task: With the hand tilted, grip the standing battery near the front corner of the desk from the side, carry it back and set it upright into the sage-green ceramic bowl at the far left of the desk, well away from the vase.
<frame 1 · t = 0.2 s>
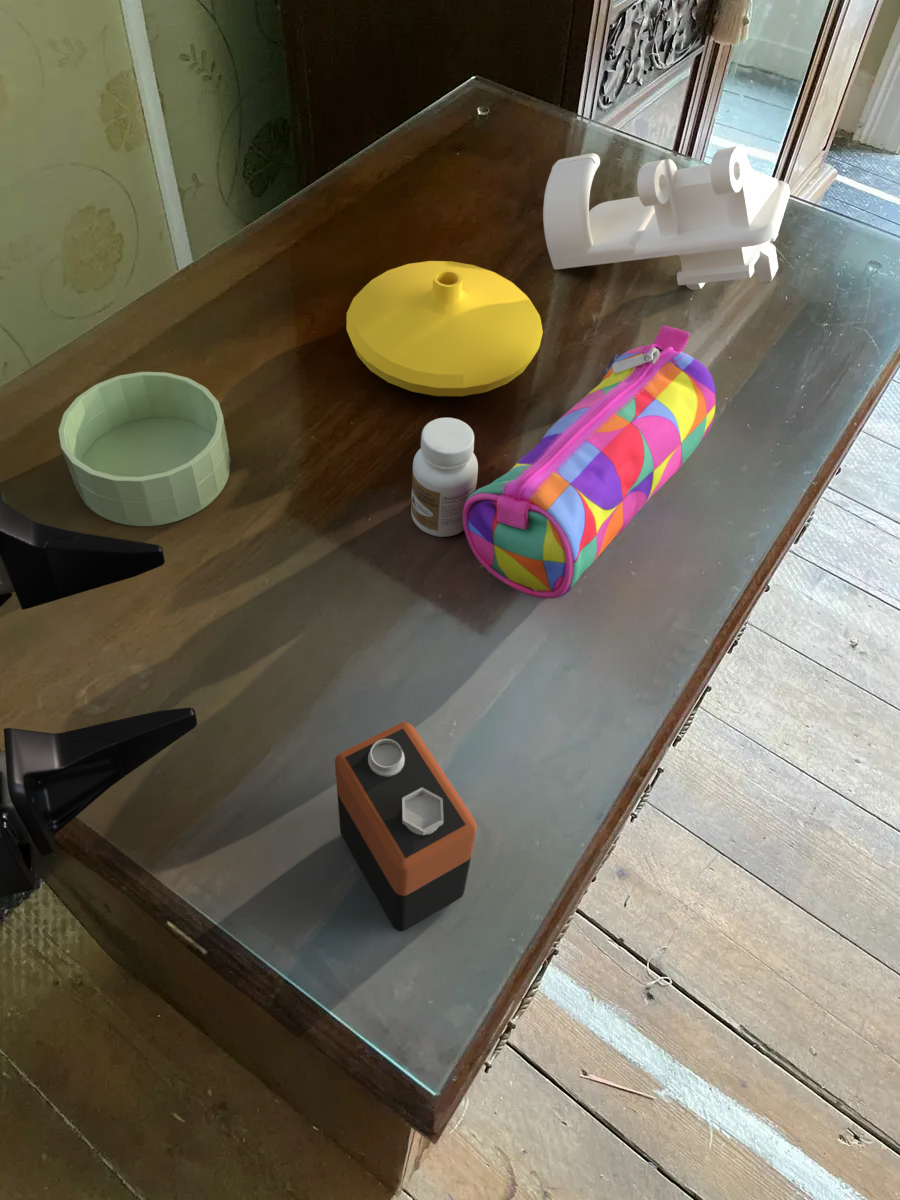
hand: (178, 630, 43), 15 cm above the table, tool horizontal, fingers open, 9 cm apart
vase: (442, 354, 79), on the table
bowl: (154, 470, 69), on the table
tape dispenser: (647, 273, 87), on the table
battery: (401, 864, 52), on the table
pill bottle: (441, 517, 68), on the table
pencil case: (585, 506, 69), on the table
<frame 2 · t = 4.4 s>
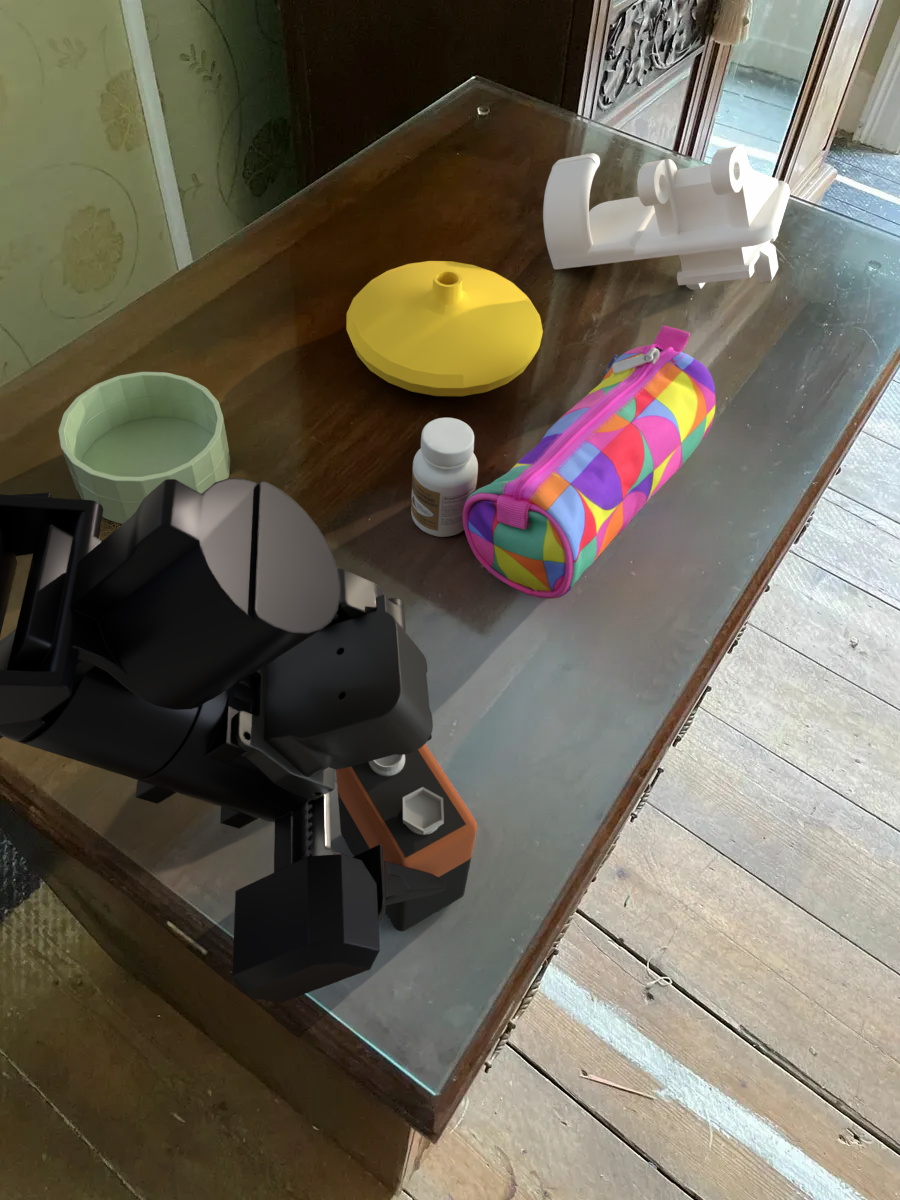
hand: (432, 810, 47), 7 cm above the table, tool tilted 45°, fingers closed on battery, 7 cm apart
battery: (401, 864, 52), on the table, touching gripper
everything else where it was.
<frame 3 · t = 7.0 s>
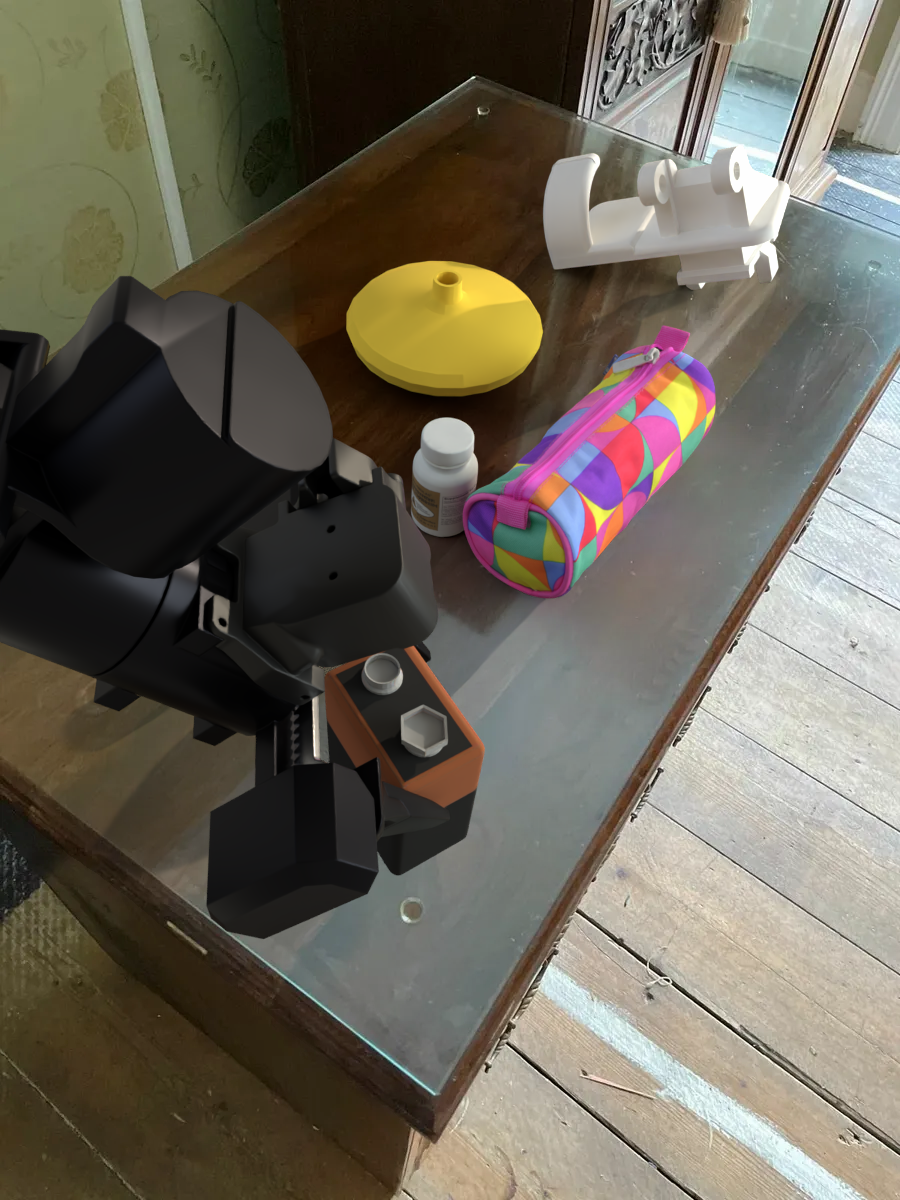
hand: (432, 736, 42), 13 cm above the table, tool tilted 45°, fingers closed on battery, 7 cm apart
battery: (397, 805, 47), point 6 cm above the table, touching gripper
everything else where it was.
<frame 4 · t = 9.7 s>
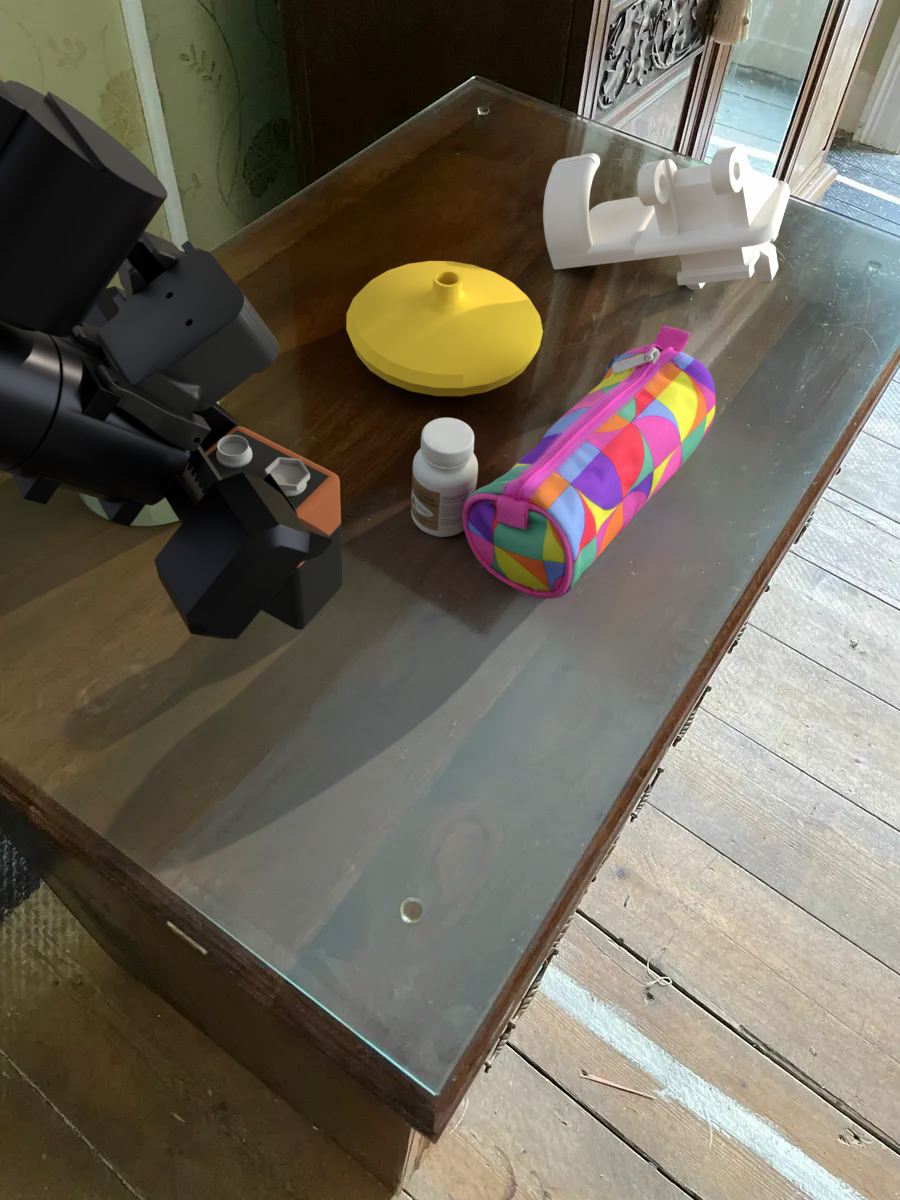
hand: (290, 496, 50), 13 cm above the table, tool tilted 45°, fingers closed on battery, 7 cm apart
battery: (276, 586, 55), point 6 cm above the table, touching gripper
everything else where it was.
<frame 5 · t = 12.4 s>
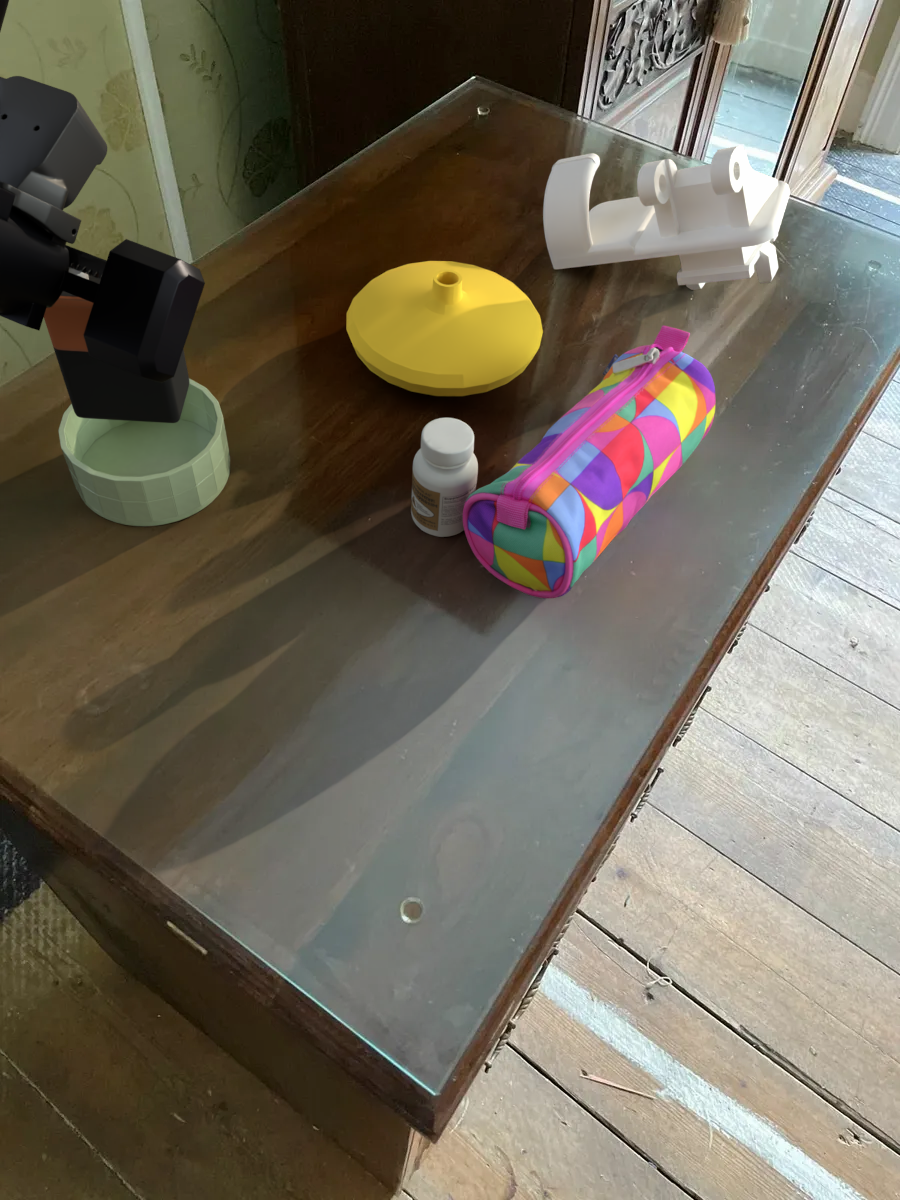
hand: (127, 306, 59), 13 cm above the table, tool tilted 45°, fingers closed on battery, 7 cm apart
battery: (135, 404, 63), point 6 cm above the table, touching gripper
everything else where it was.
when the fingers open (7 cm above the table, at t = 15.0 s): battery stays where it is, resting on bowl.
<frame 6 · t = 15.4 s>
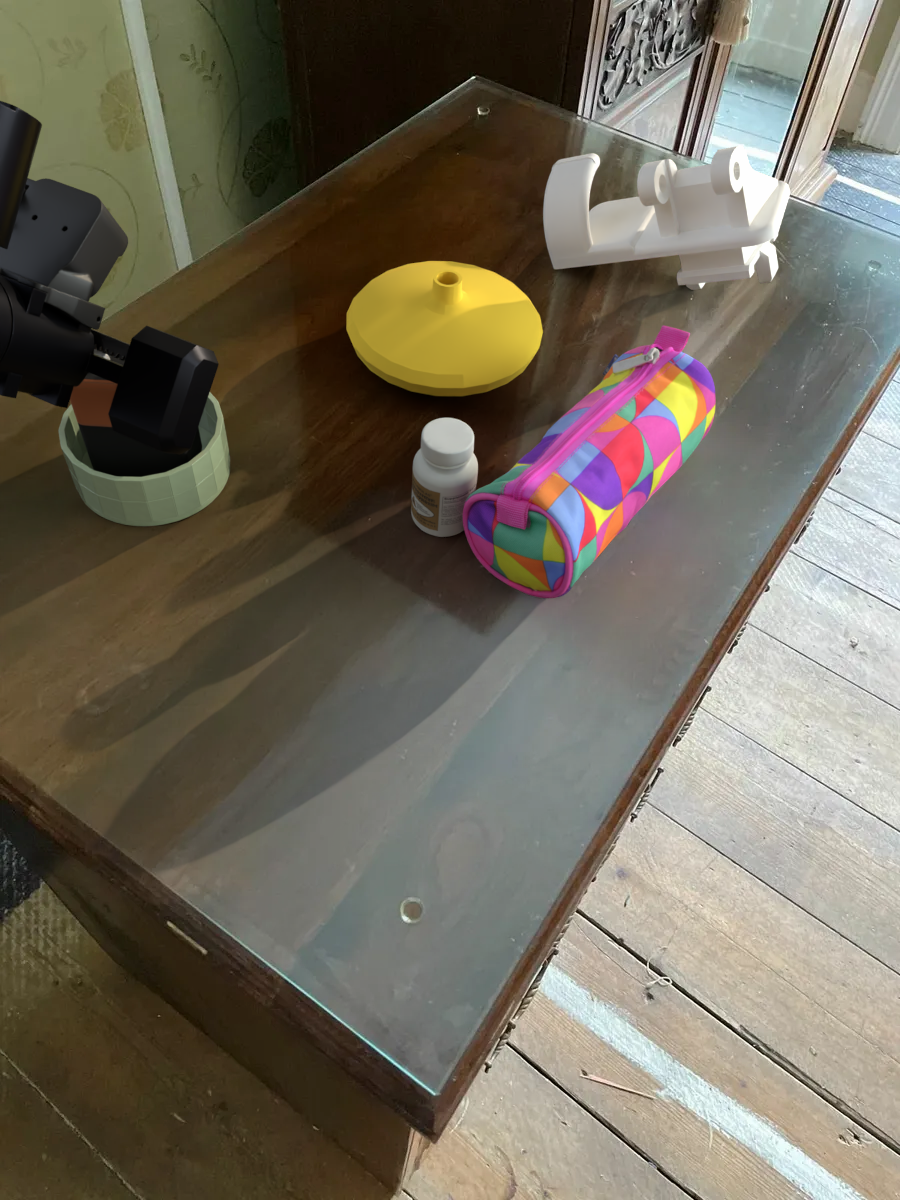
hand: (144, 372, 63), 8 cm above the table, tool tilted 45°, fingers open, 9 cm apart
battery: (151, 468, 68), resting on bowl
everything else where it was.
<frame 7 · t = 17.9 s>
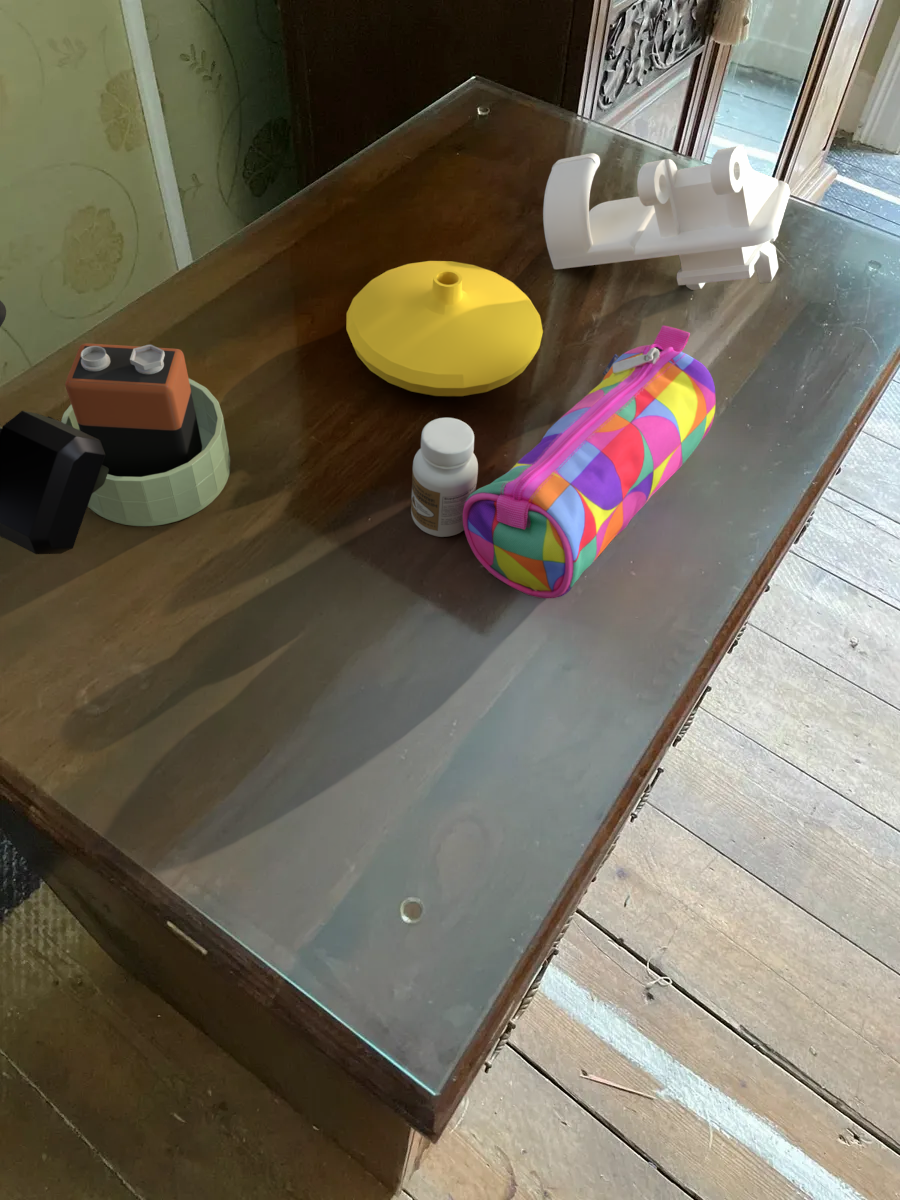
hand: (42, 446, 57), 9 cm above the table, tool tilted 45°, fingers open, 9 cm apart
nothing on the table moved.
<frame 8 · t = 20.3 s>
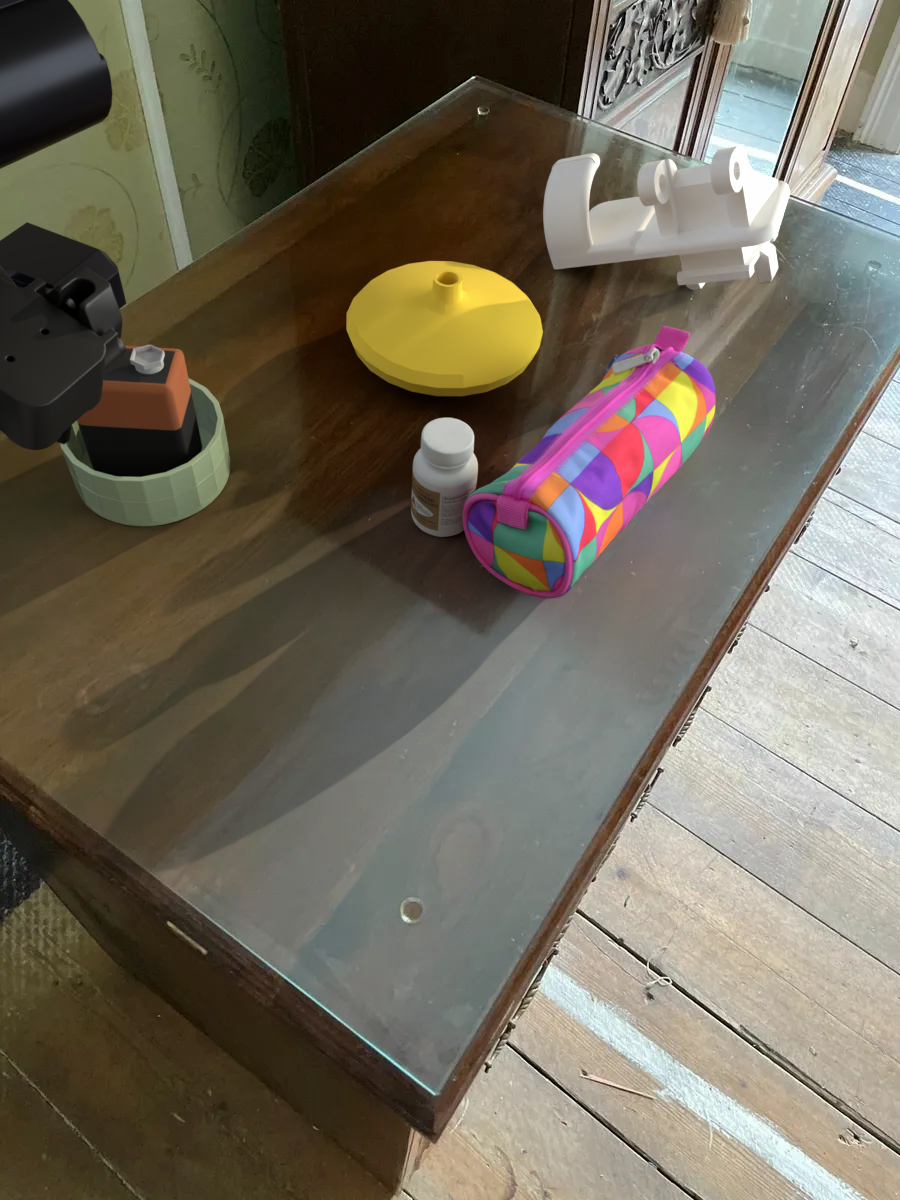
hand: (0, 494, 49), 13 cm above the table, tool pointing down, fingers open, 9 cm apart
nothing on the table moved.
at the end: battery 0.1 cm off-centre in the bowl, point 0.3 cm above the bowl's base; battery tilted 0°; battery touching bowl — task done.
